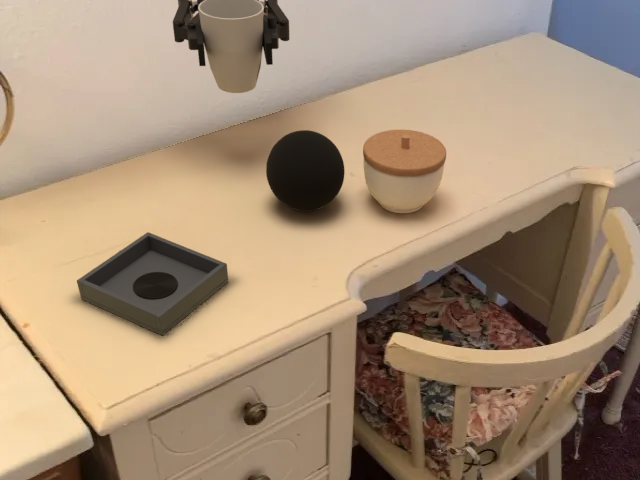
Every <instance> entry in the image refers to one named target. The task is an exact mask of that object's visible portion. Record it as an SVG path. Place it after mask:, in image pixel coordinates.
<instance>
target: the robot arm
mask: <svg viewBox="0 0 640 480" xmlns="http://www.w3.org/2000/svg"><path fill="white" fill-rule="evenodd" d="M203 1H204V0H196V1H193V0H177V5H178V7H177V10H176V12H175V14H174V16H173V19H172V28H173V29H172V30H173V37H174V42H175V43H183V42H185V40H186V41H187V44H188V49H189V50H190V51H197V53H198V54H197V55H198V64H199V65H198V67H206V65H207V64H206V54H205V53H206V51H205V45H204V41H203V32H202V29H201V22H200V16H199V10H198V6H199V4H200V3H201V2H203ZM257 1H259V2H260V3H262V4H263V6H264V30H263V54H264V58H265V64H266V65H267V66H272V65H273V66H274V64H273V63H274V62H273V50H278V49H279V48H280V43H279V40H280V41H282V42H289V41H290V20H289V18H288V16H287V15H286V14H285V12H284V11H283V9H281V7H280V5H279V4H278V3H279V1H278V0H264V1H260V0H257Z"/></svg>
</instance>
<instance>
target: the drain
mask: <svg viewBox="0 0 640 480" xmlns="http://www.w3.org/2000/svg"><path fill="white" fill-rule="evenodd" d="M177 287H178V282H177V279H176V278H175V277H174V276H172V275H171V274H168V273H164V272H152V273H147V274H144V275H142V276H140V277H139V278H137V279H136V280H135V282H134V284H133V291H134V292H135V294H136V295H138V296H139V297H141V298H144V299H161V298H165V297H168V296H170V295H171V294H173V293H174V292H175V291H176V289H177Z"/></svg>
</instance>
